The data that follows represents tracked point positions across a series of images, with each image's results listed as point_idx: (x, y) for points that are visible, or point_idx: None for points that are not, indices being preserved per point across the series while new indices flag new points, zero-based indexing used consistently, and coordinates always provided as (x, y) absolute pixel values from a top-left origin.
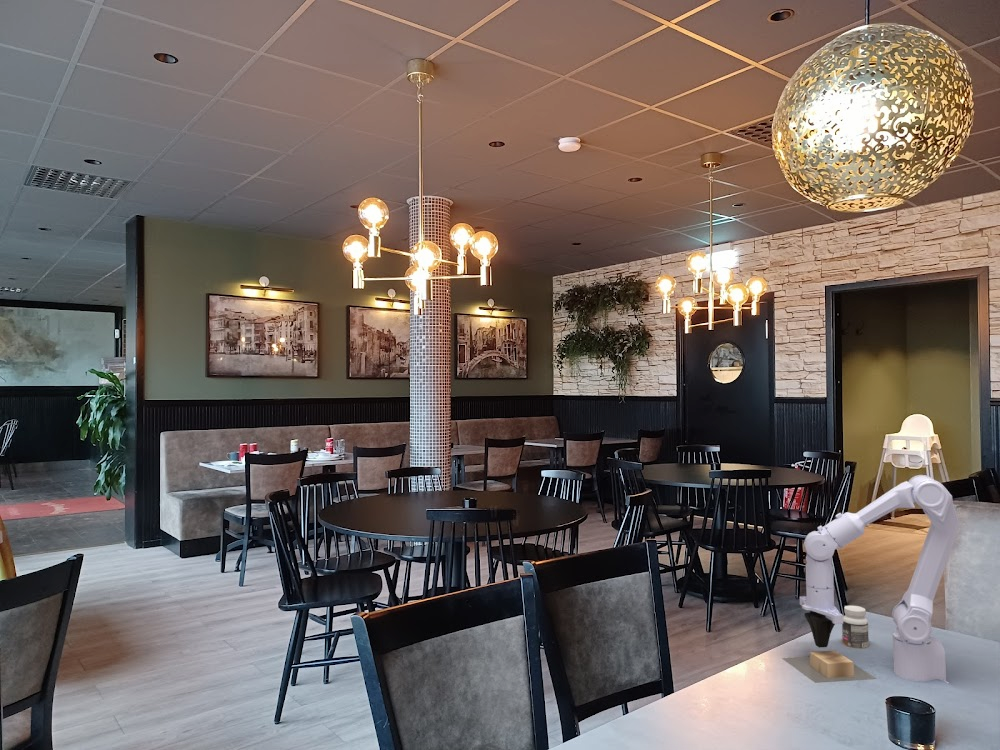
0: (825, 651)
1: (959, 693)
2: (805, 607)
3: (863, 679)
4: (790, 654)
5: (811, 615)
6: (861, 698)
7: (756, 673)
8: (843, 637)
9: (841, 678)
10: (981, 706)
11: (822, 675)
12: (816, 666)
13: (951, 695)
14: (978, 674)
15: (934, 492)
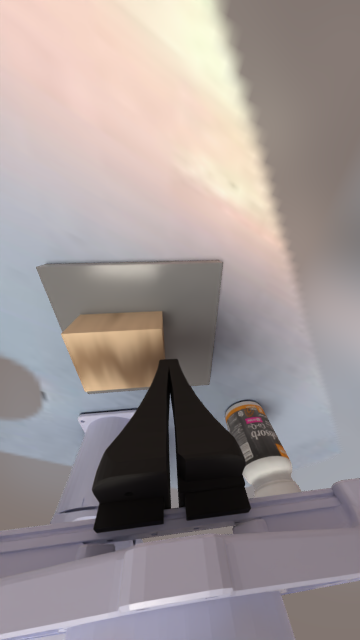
0: None
1: (71, 448)
2: (135, 598)
3: None
4: (263, 308)
5: (163, 479)
6: (7, 335)
7: (158, 112)
8: (257, 419)
9: None
10: (29, 451)
11: (95, 309)
12: (130, 316)
13: (62, 441)
14: None
15: None
